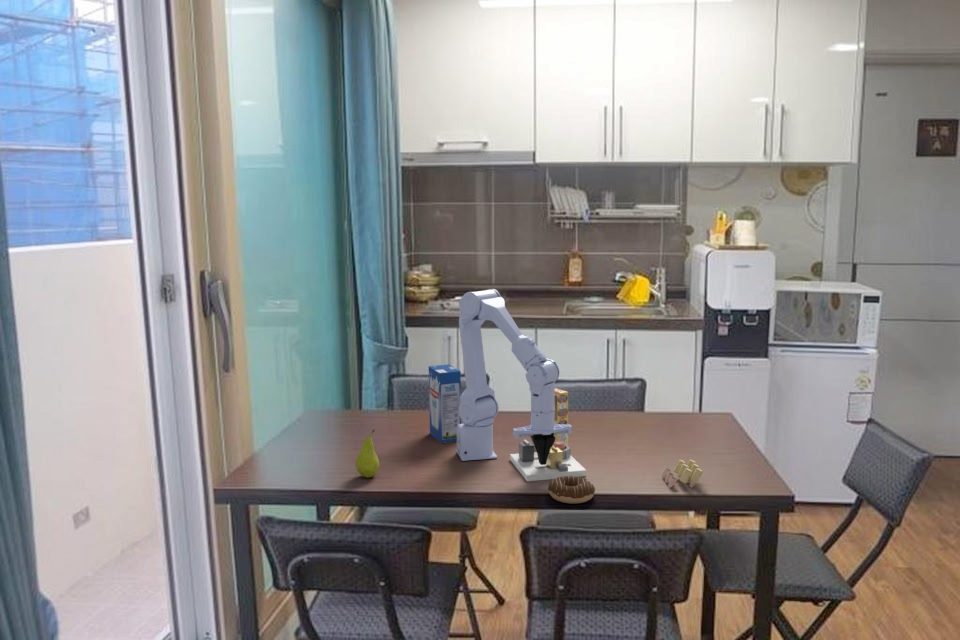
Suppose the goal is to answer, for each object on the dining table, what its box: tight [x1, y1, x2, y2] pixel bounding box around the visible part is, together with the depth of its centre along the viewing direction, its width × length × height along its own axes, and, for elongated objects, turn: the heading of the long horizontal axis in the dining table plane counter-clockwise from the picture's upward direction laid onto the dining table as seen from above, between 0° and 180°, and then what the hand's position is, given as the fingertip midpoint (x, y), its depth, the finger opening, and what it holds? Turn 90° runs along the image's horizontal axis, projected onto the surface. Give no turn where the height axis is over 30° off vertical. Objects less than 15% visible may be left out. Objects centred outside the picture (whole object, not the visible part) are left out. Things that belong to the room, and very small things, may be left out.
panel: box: [509, 444, 587, 482], centre depth 191 cm, size 15×16×4 cm
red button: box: [552, 440, 565, 450], centre depth 195 cm, size 4×4×3 cm
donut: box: [547, 476, 596, 505], centre depth 172 cm, size 11×11×4 cm
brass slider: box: [546, 446, 562, 468], centre depth 188 cm, size 3×4×5 cm
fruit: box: [354, 428, 380, 479], centre depth 185 cm, size 6×6×12 cm
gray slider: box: [518, 439, 535, 461], centre depth 193 cm, size 3×4×5 cm
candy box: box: [554, 387, 569, 446], centre depth 210 cm, size 9×4×15 cm, turn 33°
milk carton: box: [427, 363, 462, 444], centre depth 216 cm, size 10×6×20 cm, turn 22°
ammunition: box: [661, 459, 704, 489], centre depth 180 cm, size 5×7×8 cm
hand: (542, 463), depth 187 cm, fingers closed
